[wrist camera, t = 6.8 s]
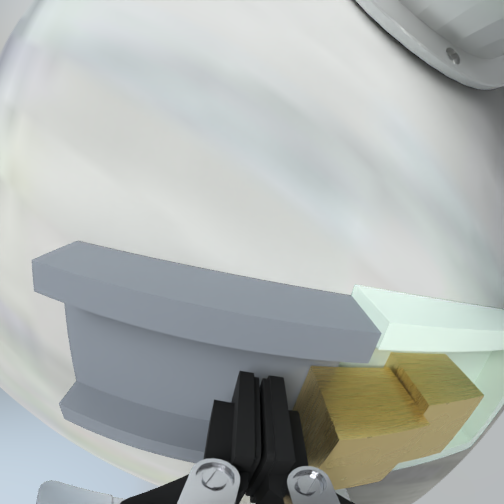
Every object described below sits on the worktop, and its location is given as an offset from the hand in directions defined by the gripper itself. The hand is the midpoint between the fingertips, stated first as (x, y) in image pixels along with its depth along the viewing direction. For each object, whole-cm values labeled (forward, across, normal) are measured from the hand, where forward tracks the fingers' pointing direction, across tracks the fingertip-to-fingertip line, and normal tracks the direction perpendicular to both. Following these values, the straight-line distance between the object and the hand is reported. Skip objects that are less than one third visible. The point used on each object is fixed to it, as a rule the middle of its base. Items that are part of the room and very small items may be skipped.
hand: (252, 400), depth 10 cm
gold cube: (+1, -4, 0) cm, 4 cm away
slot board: (+2, +3, 0) cm, 3 cm away
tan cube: (+2, -8, 0) cm, 8 cm away
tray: (+2, -9, 0) cm, 10 cm away
